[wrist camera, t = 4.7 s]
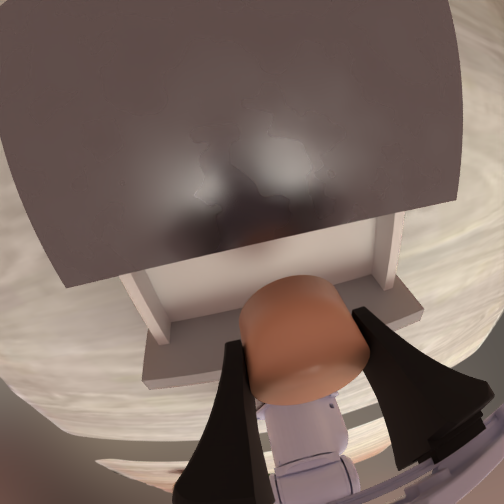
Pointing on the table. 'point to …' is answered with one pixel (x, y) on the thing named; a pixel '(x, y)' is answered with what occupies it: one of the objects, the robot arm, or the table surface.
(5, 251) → the table surface
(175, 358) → the tray
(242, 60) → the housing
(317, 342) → the orange rounded part
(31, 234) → the table surface
